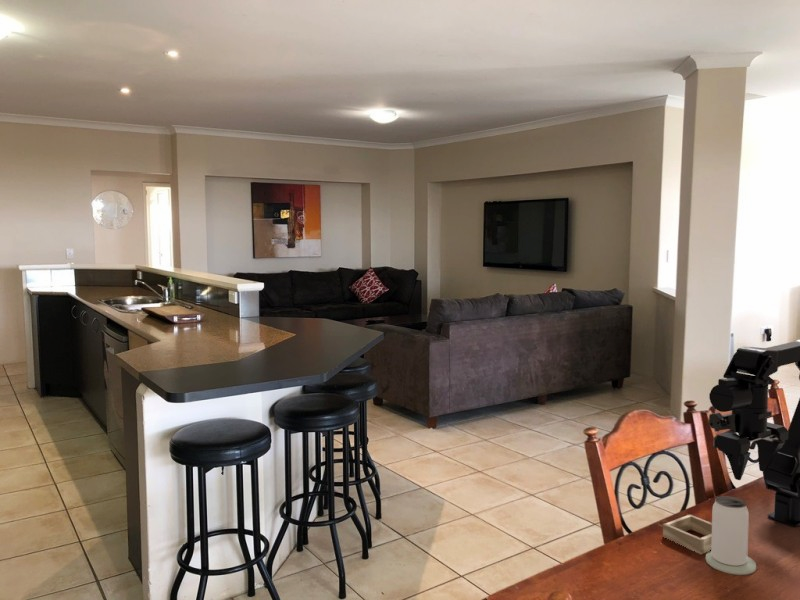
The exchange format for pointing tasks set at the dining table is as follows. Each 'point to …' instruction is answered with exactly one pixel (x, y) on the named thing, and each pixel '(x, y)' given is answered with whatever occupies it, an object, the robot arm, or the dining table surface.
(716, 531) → the can
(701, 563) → the dining table surface
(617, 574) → the dining table surface
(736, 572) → the pale green flat disc
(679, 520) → the holder
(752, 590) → the dining table surface
